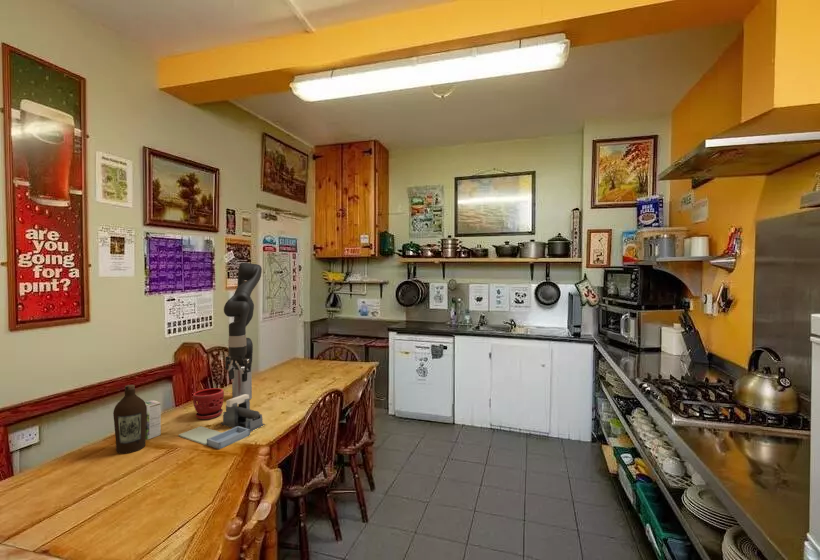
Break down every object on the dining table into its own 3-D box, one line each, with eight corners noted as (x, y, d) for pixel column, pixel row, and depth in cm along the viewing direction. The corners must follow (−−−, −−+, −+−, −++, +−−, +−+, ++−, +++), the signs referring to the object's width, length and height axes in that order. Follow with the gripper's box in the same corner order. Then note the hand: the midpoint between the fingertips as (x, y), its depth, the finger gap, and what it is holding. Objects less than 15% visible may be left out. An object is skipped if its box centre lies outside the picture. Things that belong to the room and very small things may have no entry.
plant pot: (229, 411, 191) (229, 387, 191) (213, 421, 178) (213, 396, 178) (204, 410, 193) (204, 386, 192) (187, 420, 180) (186, 395, 179)
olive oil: (115, 446, 153) (114, 384, 153) (147, 440, 159) (146, 380, 158) (112, 457, 144) (111, 391, 144) (147, 450, 150) (145, 386, 150)
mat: (178, 436, 163) (178, 434, 163) (200, 427, 172) (200, 426, 172) (205, 445, 154) (205, 443, 154) (227, 435, 163) (227, 434, 163)
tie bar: (226, 406, 172) (226, 400, 171) (245, 399, 180) (245, 394, 180) (230, 407, 170) (230, 401, 170) (249, 400, 179) (249, 394, 179)
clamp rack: (220, 424, 175) (220, 401, 175) (236, 418, 182) (236, 395, 182) (249, 432, 166) (249, 408, 166) (264, 425, 174) (264, 402, 173)
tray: (206, 445, 154) (206, 439, 154) (238, 431, 167) (238, 426, 167) (219, 449, 151) (219, 443, 151) (250, 435, 164) (250, 429, 164)
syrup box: (139, 437, 162) (138, 403, 161) (154, 432, 167) (153, 399, 166) (146, 440, 159) (146, 405, 159) (161, 434, 164) (161, 401, 164)
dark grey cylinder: (226, 413, 177) (225, 406, 177) (232, 411, 180) (232, 403, 180) (253, 421, 168) (252, 412, 168) (259, 418, 172) (259, 410, 171)
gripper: (219, 345, 175) (220, 380, 175) (241, 347, 168) (241, 384, 169) (234, 342, 181) (234, 376, 182) (255, 344, 175) (255, 380, 175)
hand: (238, 380), depth 175 cm, fingers open, 8 cm apart
